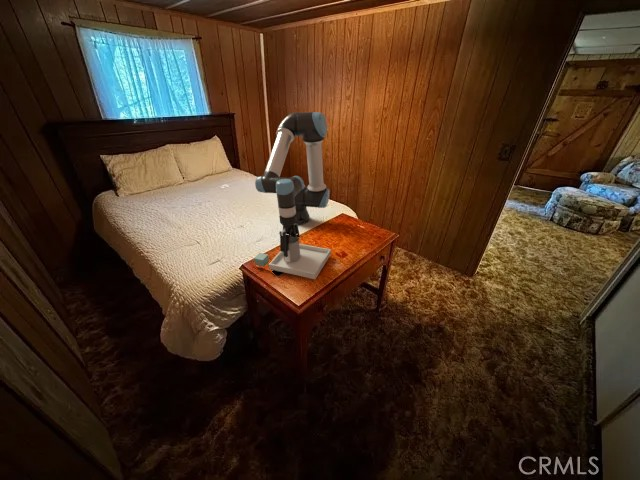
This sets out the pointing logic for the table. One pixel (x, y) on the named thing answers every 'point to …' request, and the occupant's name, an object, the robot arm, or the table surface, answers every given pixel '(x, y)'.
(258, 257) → the block
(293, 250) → the cup
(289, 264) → the shallow white dish
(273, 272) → the smartphone
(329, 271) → the table surface
